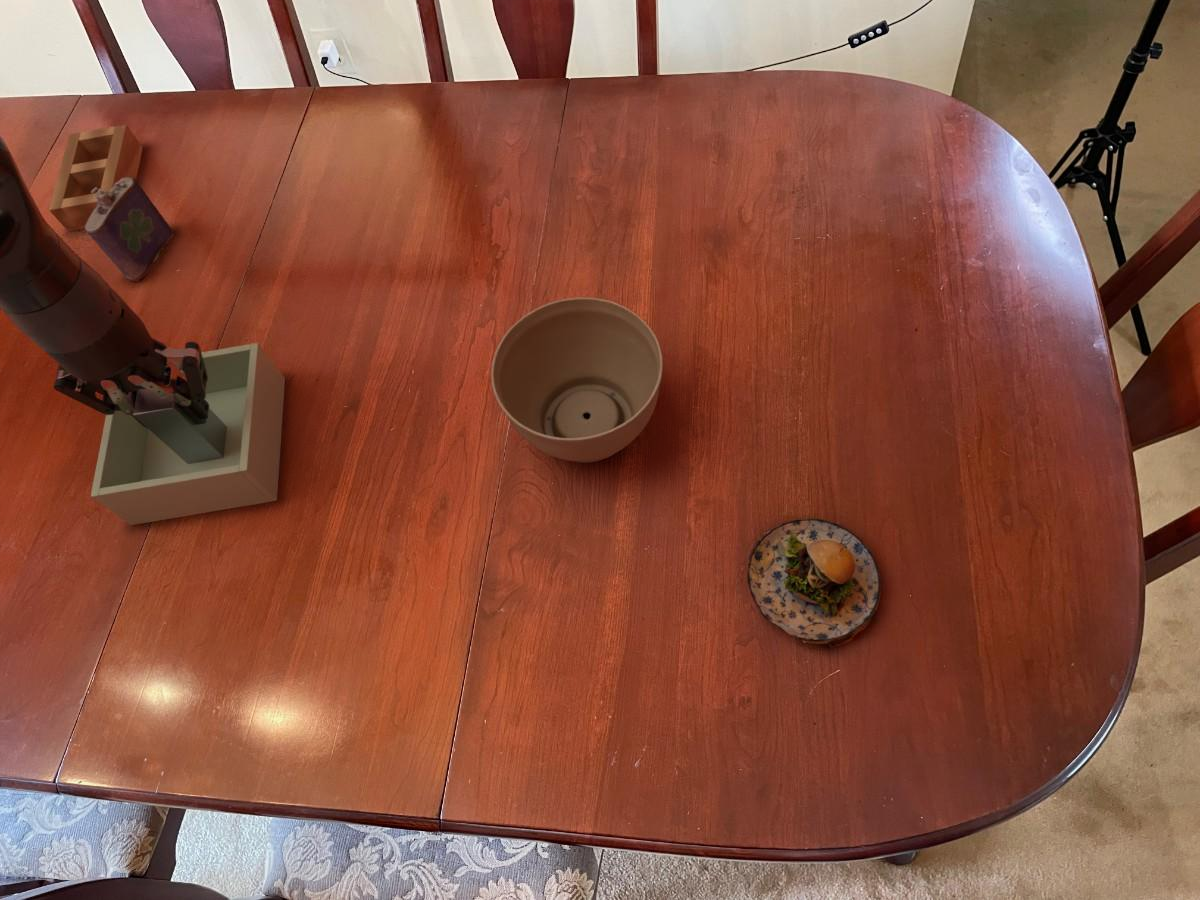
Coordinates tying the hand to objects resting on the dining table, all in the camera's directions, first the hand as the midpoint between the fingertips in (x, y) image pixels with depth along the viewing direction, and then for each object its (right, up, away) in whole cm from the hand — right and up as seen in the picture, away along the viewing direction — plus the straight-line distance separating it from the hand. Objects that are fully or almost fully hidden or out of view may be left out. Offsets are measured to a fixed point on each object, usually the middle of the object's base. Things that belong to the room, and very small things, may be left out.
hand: (181, 420), depth 87 cm
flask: (-14, +22, +21) cm, 33 cm away
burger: (+62, -15, -9) cm, 65 cm away
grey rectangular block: (+1, -3, +5) cm, 5 cm away
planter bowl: (+42, -1, +2) cm, 42 cm away
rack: (-24, +32, +28) cm, 49 cm away
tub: (+1, -3, +5) cm, 6 cm away
